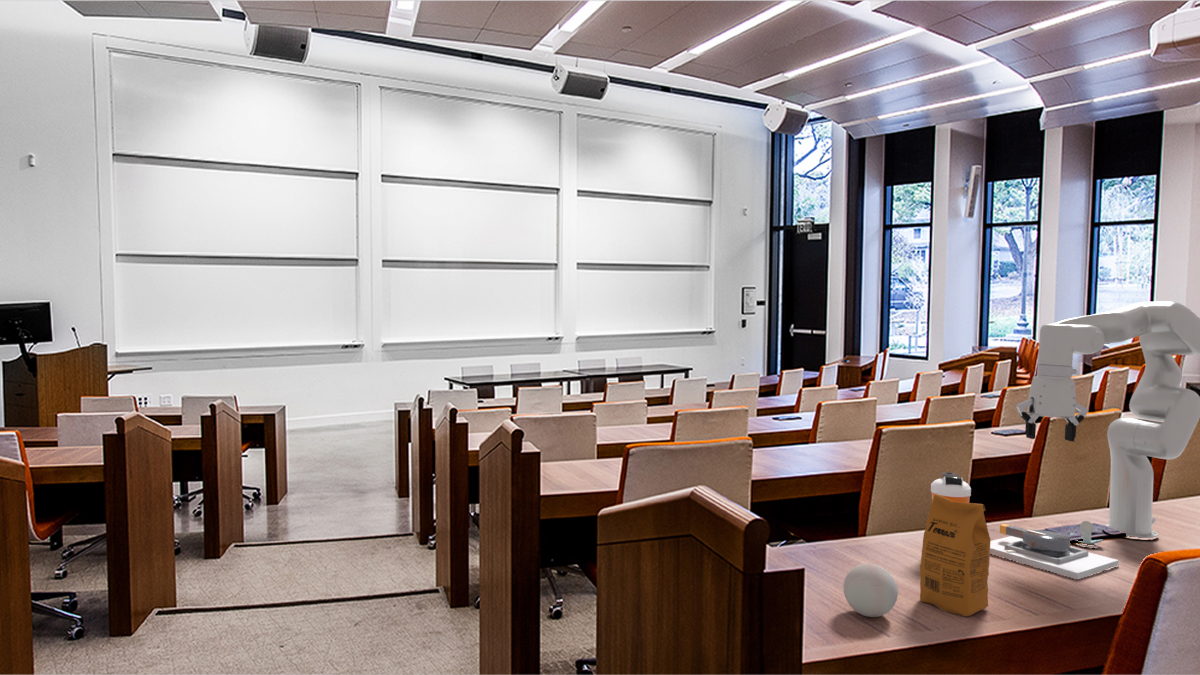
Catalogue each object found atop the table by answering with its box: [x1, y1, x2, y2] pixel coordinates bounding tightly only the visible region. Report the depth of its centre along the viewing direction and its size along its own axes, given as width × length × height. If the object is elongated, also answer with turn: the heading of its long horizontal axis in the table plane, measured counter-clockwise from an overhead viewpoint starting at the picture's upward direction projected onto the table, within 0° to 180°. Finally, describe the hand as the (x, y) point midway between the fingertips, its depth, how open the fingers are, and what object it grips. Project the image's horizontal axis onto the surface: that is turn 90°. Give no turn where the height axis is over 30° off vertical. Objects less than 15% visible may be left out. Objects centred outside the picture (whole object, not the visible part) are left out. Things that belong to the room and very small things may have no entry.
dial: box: [999, 523, 1071, 558], centre depth 188 cm, size 16×10×4 cm, turn 31°
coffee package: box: [919, 494, 991, 617], centre depth 155 cm, size 10×12×22 cm
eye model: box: [842, 563, 899, 618], centre depth 150 cm, size 10×10×10 cm
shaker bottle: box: [930, 471, 972, 503], centre depth 187 cm, size 9×9×20 cm
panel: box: [989, 535, 1120, 580], centre depth 186 cm, size 18×24×3 cm
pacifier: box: [1069, 520, 1104, 547], centre depth 197 cm, size 7×6×6 cm
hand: (1049, 439), depth 194 cm, fingers open, 9 cm apart
